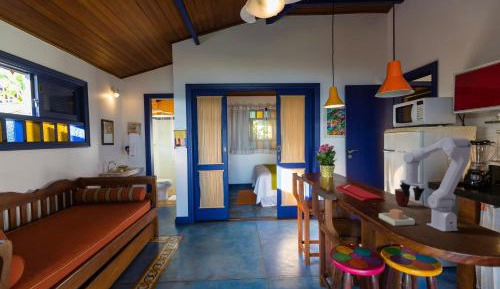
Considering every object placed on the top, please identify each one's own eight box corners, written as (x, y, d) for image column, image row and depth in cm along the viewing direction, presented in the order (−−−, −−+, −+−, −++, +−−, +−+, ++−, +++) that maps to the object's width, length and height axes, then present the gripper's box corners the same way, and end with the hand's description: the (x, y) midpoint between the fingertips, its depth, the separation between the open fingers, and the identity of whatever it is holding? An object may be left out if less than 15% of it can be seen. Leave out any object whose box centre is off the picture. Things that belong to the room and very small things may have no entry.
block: (403, 220, 129) (403, 210, 129) (398, 222, 127) (398, 212, 127) (394, 218, 133) (394, 208, 133) (389, 219, 131) (389, 210, 131)
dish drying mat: (362, 202, 168) (362, 197, 168) (335, 189, 209) (335, 184, 209) (384, 201, 170) (384, 196, 170) (353, 188, 211) (353, 184, 211)
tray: (414, 224, 125) (414, 219, 125) (394, 225, 123) (394, 220, 123) (397, 216, 137) (397, 212, 137) (378, 218, 135) (378, 213, 135)
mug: (415, 209, 151) (415, 192, 150) (401, 209, 151) (401, 192, 150) (404, 204, 161) (405, 188, 161) (392, 204, 161) (392, 188, 161)
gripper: (429, 176, 131) (429, 201, 132) (408, 172, 145) (407, 195, 146) (417, 176, 130) (417, 202, 130) (397, 172, 144) (396, 195, 145)
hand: (411, 198), depth 138 cm, fingers open, 7 cm apart
